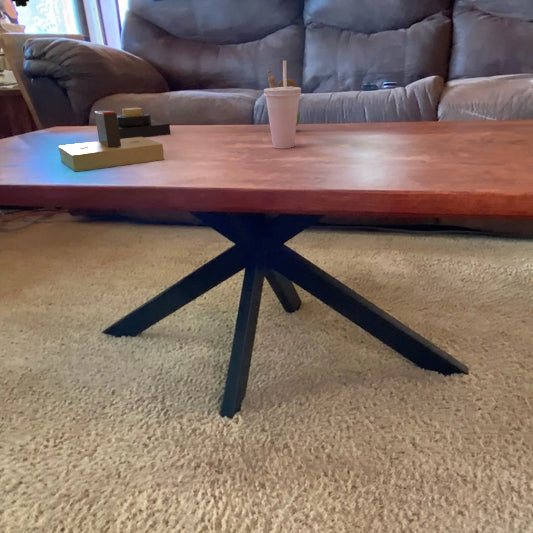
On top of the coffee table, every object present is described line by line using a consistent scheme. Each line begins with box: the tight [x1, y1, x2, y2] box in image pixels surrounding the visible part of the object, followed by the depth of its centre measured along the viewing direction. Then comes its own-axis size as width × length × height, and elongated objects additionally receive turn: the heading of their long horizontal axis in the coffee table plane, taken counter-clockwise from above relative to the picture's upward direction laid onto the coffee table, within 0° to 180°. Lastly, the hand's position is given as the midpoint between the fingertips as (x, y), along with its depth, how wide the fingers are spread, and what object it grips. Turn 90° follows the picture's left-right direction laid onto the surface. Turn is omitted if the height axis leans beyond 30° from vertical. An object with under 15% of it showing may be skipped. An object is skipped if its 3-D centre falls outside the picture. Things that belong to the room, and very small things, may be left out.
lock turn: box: [94, 110, 121, 147], centre depth 81 cm, size 6×2×5 cm, turn 32°
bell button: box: [121, 107, 143, 117], centre depth 106 cm, size 4×4×2 cm
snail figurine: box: [267, 69, 300, 127], centre depth 104 cm, size 5×6×12 cm
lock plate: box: [58, 137, 165, 172], centre depth 82 cm, size 14×10×3 cm
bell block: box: [117, 113, 171, 139], centre depth 107 cm, size 12×10×4 cm
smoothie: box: [263, 60, 302, 149], centre depth 87 cm, size 6×6×14 cm
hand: (21, 5), depth 99 cm, fingers closed
